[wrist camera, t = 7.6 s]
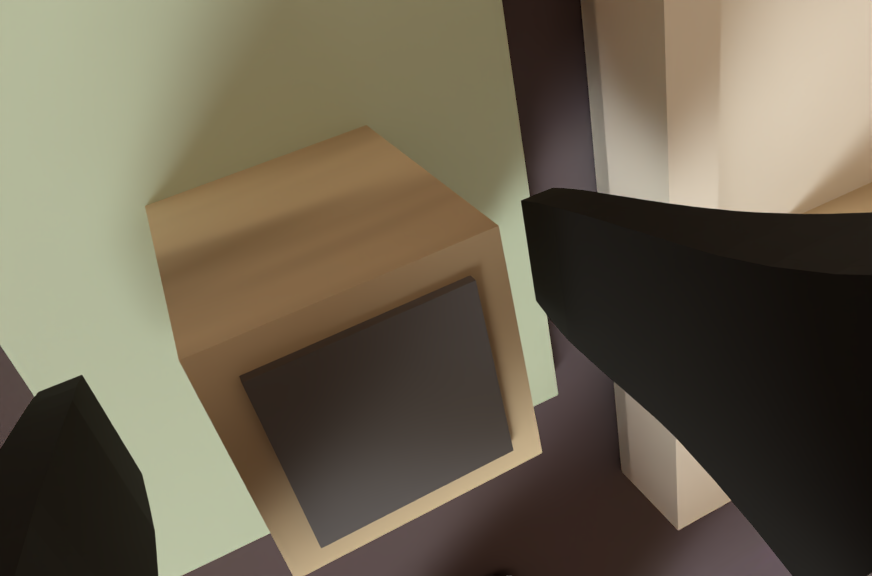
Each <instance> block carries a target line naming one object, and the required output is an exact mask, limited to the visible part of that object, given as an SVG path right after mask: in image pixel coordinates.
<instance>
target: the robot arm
mask: <svg viewBox="0 0 872 576" xmlns="http://www.w3.org/2000/svg"><path fill="white" fill-rule="evenodd" d="M521 206H522V212H523V219H524V226H525V232H526V239H527V245H528V252H529V259H530V265H531V272H532V279H533V285H534V292H535V298H536V302H537V303H538V304H539V305H540V307H541V308H542V309H543V310H544V312H545V313H546V314H547V315H548V317H549V318H550V319H551V320H552V322H553V323H554V324H555V325H556V326H557V328H558V329H559V330H560V331H561V332H562V333H563V335H564V336H565V337H566V338H567V339H568V340H569V341H570V342H571V343H572V344H573V345H574V346H575V347H576V348H577V349H578V350H579V351H580V352H582V353H583V354H584V355H585V356H586V357H587V358H588V359H589V360H590V361H591V362H593V363H594V364H595V365H596V366H597V367H598V368H599V369H600V370H601V371H603V372H604V373H605V374H606V375H607V376H608V377H609V378H611V379H612V380H613V381H614V382H615V383H616V384H617V385H618V386H620V387H621V388H622V389H623V390H624V391H625V392H626V393H628V394H629V395H630V396H631V397H632V398H633V399H634V400H635V401H637V402H638V403H639V404H640V405H641V406H642V407H643V408H644V409H646V410H647V411H648V412H649V413H650V414H651V415H652V416H654V417H655V418H656V419H657V420H658V421H659V422H660V423H661V424H662V425H663V426H664V427H665V428H666V429H667V430H668V431H669V432H670V433H671V434H672V435H673V436H674V437H675V438H676V439H677V440H678V441H679V442H680V443H681V444H682V445H683V446H684V447H685V449H686V450H687V451H688V452H689V453H690V454H691V455H692V456H693V457H694V459H695V460H696V461H697V462H698V463H699V464H700V465H701V466H702V467H703V468H704V470H705V471H706V472H707V473H708V474H709V475H710V476H711V477H712V478H713V480H714V481H715V482H716V483H717V484H718V485H719V487H720V488H721V489H722V490H723V491H724V493H725V494H726V495H727V496H728V497H729V498H730V500H731V501H732V502H733V503H734V504H735V505H736V507H737V508H738V509H739V510H740V511H741V513H742V514H743V515H744V516H745V517H746V518H747V520H748V521H749V522H750V523H751V524H752V525H753V527H754V528H755V529H756V530H757V532H758V533H759V534H760V535H761V537H762V538H763V539H764V540H765V542H766V543H767V544H768V545H769V547H770V548H771V549H772V551H773V552H774V553H775V554H776V556H777V557H778V558H779V559H780V561H781V562H782V563H783V564H784V566H785V567H786V568H787V569H788V571H789V572H790V573H791V574H792V576H872V212H865V213H837V214H791V213H763V212H745V211H731V210H721V209H712V208H702V207H693V206H685V205H678V204H670V203H663V202H656V201H650V200H643V199H637V198H630V197H624V196H618V195H611V194H605V193H598V192H591V191H584V190H576V189H565V188H551V189H548V190H546V191H543V192H541V193H538V194H536V195H533V196H531V197H528V198H526V199H523V200H521ZM0 576H158V564H157V550H156V538H155V529H154V524H153V519H152V515H151V510H150V505H149V501H148V496H147V492H146V488H145V484H144V479H143V475H142V473H141V471H140V469H139V468H138V466H137V464H136V463H135V461H134V459H133V458H132V456H131V454H130V453H129V451H128V449H127V448H126V446H125V444H124V443H123V441H122V440H121V438H120V436H119V435H118V433H117V431H116V430H115V428H114V426H113V425H112V423H111V421H110V420H109V418H108V416H107V415H106V413H105V411H104V410H103V408H102V407H101V405H100V403H99V402H98V400H97V398H96V397H95V395H94V393H93V392H92V390H91V388H90V387H89V385H88V383H87V382H86V380H85V378H84V377H83V375H80V376H77V377H75V378H72V379H70V380H67V381H65V382H62V383H60V384H57V385H54V386H52V387H49V388H47V389H44V390H42V391H39V392H38V393H37V394H36V396H35V397H34V398H33V399H32V401H31V402H30V404H29V405H28V407H27V408H26V410H25V411H24V413H23V414H22V416H21V417H20V419H19V421H18V422H17V424H16V425H15V427H14V428H13V430H12V432H11V433H10V435H9V436H8V438H7V439H6V441H5V443H4V444H3V446H2V447H1V449H0ZM508 576H511V575H508Z"/></svg>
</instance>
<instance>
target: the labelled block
mask: <svg viewBox="0 0 872 576" xmlns="http://www.w3.org/2000/svg"><path fill="white" fill-rule="evenodd" d="M145 208H146V213H147V218H148V222H149V227H150V231H151V236H152V240H153V245H154V250H155V254H156V259H157V263H158V268H159V272H160V277H161V282H162V286H163V291H164V295H165V300H166V304H167V309H168V314H169V318H170V323H171V327H172V332H173V336H174V341H175V346H176V350H177V355H178V359H179V362H180V364H181V366H182V368H183V369H184V371H185V373H186V375H187V377H188V379H189V381H190V383H191V385H192V386H193V388H194V390H195V392H196V394H197V396H198V398H199V400H200V401H201V403H202V405H203V407H204V409H205V411H206V413H207V415H208V417H209V418H210V420H211V422H212V424H213V426H214V428H215V430H216V432H217V433H218V435H219V437H220V439H221V441H222V443H223V445H224V447H225V449H226V450H227V452H228V454H229V456H230V458H231V460H232V462H233V464H234V465H235V467H236V469H237V471H238V473H239V475H240V477H241V479H242V481H243V482H244V484H245V486H246V488H247V490H248V492H249V494H250V496H251V497H252V499H253V501H254V503H255V505H256V507H257V509H258V511H259V513H260V514H261V516H262V518H263V520H264V522H265V524H266V526H267V528H268V529H269V531H270V533H271V535H272V537H273V539H274V541H275V543H276V545H277V546H278V548H279V550H280V552H281V554H282V556H283V558H284V560H285V561H286V563H287V565H288V567H289V569H290V571H291V573H292V575H293V576H305V575H307V574H309V573H310V572H312V571H314V570H316V569H318V568H320V567H322V566H324V565H326V564H328V563H330V562H332V561H334V560H336V559H338V558H340V557H341V556H343V555H345V554H347V553H349V552H351V551H353V550H355V549H357V548H359V547H361V546H363V545H365V544H367V543H369V542H371V541H372V540H374V539H376V538H378V537H380V536H382V535H384V534H386V533H388V532H390V531H392V530H394V529H396V528H398V527H400V526H402V525H403V524H405V523H407V522H409V521H411V520H413V519H415V518H417V517H419V516H421V515H423V514H425V513H427V512H429V511H431V510H433V509H434V508H436V507H438V506H440V505H442V504H444V503H446V502H448V501H450V500H452V499H454V498H456V497H458V496H460V495H462V494H464V493H465V492H467V491H469V490H471V489H473V488H475V487H477V486H479V485H481V484H483V483H485V482H487V481H489V480H491V479H493V478H495V477H496V476H498V475H500V474H502V473H504V472H506V471H508V470H510V469H512V468H514V467H516V466H518V465H520V464H522V463H524V462H526V461H528V460H529V459H531V458H533V457H535V456H537V455H539V454H541V453H542V449H541V443H540V438H539V433H538V428H537V423H536V417H535V412H534V407H533V402H532V396H531V391H530V386H529V381H528V376H527V370H526V365H525V360H524V355H523V350H522V344H521V339H520V334H519V329H518V323H517V318H516V313H515V308H514V303H513V297H512V292H511V287H510V282H509V277H508V271H507V266H506V261H505V256H504V251H503V245H502V240H501V235H500V230H499V225H497V224H496V223H495V222H493V221H492V220H491V219H489V218H488V217H487V216H485V215H484V214H483V213H481V212H480V211H479V210H477V209H476V208H475V207H474V206H472V205H471V204H470V203H468V202H467V201H466V200H464V199H463V198H462V197H460V196H459V195H458V194H456V193H455V192H454V191H452V190H451V189H450V188H449V187H447V186H446V185H445V184H443V183H442V182H441V181H439V180H438V179H437V178H435V177H434V176H433V175H431V174H430V173H429V172H427V171H426V170H425V169H424V168H422V167H421V166H420V165H418V164H417V163H416V162H414V161H413V160H412V159H410V158H409V157H408V156H406V155H405V154H404V153H402V152H401V151H400V150H399V149H397V148H396V147H395V146H393V145H392V144H391V143H389V142H388V141H387V140H385V139H384V138H383V137H381V136H380V135H379V134H378V133H376V132H375V131H374V130H372V129H371V128H370V127H368V126H367V125H365V126H362V127H360V128H357V129H354V130H351V131H349V132H346V133H343V134H341V135H338V136H335V137H332V138H330V139H327V140H324V141H321V142H319V143H316V144H313V145H310V146H308V147H305V148H302V149H299V150H297V151H294V152H291V153H289V154H286V155H283V156H280V157H278V158H275V159H272V160H269V161H267V162H264V163H261V164H258V165H256V166H253V167H250V168H248V169H245V170H242V171H239V172H237V173H234V174H231V175H228V176H226V177H223V178H220V179H217V180H215V181H212V182H209V183H206V184H204V185H201V186H198V187H196V188H193V189H190V190H187V191H185V192H182V193H179V194H176V195H174V196H171V197H168V198H165V199H163V200H160V201H157V202H155V203H152V204H149V205H146V206H145Z"/></svg>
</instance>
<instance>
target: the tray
mask: <svg viewBox="0 0 872 576" xmlns="http://www.w3.org/2000/svg"><path fill="white" fill-rule="evenodd" d="M581 11H582V23H583V34H584V46H585V57H586V69H587V80H588V92H589V104H590V115H591V127H592V138H593V150H594V161H595V173H596V184H597V192H598V193H605V194H611V195H618V196H624V197H630V198H637V199H643V200H650V201H656V202H663V203H670V204H678V205H685V206H693V207H702V208H712V209H721V210H731V211H745V212H763V213H791V214H802V213H805V212H807V211H809V210H811V209H813V208H816V207H818V206H820V205H822V204H825V203H827V202H829V201H831V200H833V199H836V198H838V197H840V196H842V195H844V194H847V193H849V192H851V191H853V190H855V189H858V188H860V187H862V186H864V185H867V184H869V183H871V182H872V0H581ZM614 392H615V404H616V416H617V427H618V439H619V450H620V462H621V471H622V473H623V474H624V475H625V476H626V477H627V478H628V479H629V480H630V481H631V482H632V483H633V484H634V485H635V486H636V487H637V488H638V489H639V490H640V491H641V492H642V493H643V494H644V495H645V496H646V498H647V499H648V500H649V501H650V502H651V503H652V504H653V505H654V506H655V507H656V508H657V509H658V510H659V511H660V512H661V513H662V514H663V515H664V516H665V517H666V518H667V519H668V520H669V521H670V523H671V524H672V525H673V526H674V527H675V528H676V529H677V530H680V529H682V528H683V527H685V526H687V525H689V524H691V523H692V522H694V521H696V520H698V519H699V518H701V517H703V516H705V515H707V514H708V513H710V512H712V511H714V510H716V509H717V508H719V507H721V506H723V505H724V504H726V503H728V502H730V501H731V500H730V498H729V497H728V496H727V495H726V494H725V493H724V491H723V490H722V489H721V488H720V487H719V485H718V484H717V483H716V482H715V481H714V480H713V478H712V477H711V476H710V475H709V474H708V473H707V472H706V471H705V470H704V468H703V467H702V466H701V465H700V464H699V463H698V462H697V461H696V460H695V459H694V457H693V456H692V455H691V454H690V453H689V452H688V451H687V450H686V449H685V447H684V446H683V445H682V444H681V443H680V442H679V441H678V440H677V439H676V438H675V437H674V436H673V435H672V434H671V433H670V432H669V431H668V430H667V429H666V428H665V427H664V426H663V425H662V424H661V423H660V422H659V421H658V420H657V419H656V418H655V417H654V416H652V415H651V414H650V413H649V412H648V411H647V410H646V409H644V408H643V407H642V406H641V405H640V404H639V403H638V402H637V401H635V400H634V399H633V398H632V397H631V396H630V395H629V394H628V393H626V392H625V391H624V390H623V389H622V388H621V387H620V386H618V385H617V384H616V383H615V382H614Z"/></svg>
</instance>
